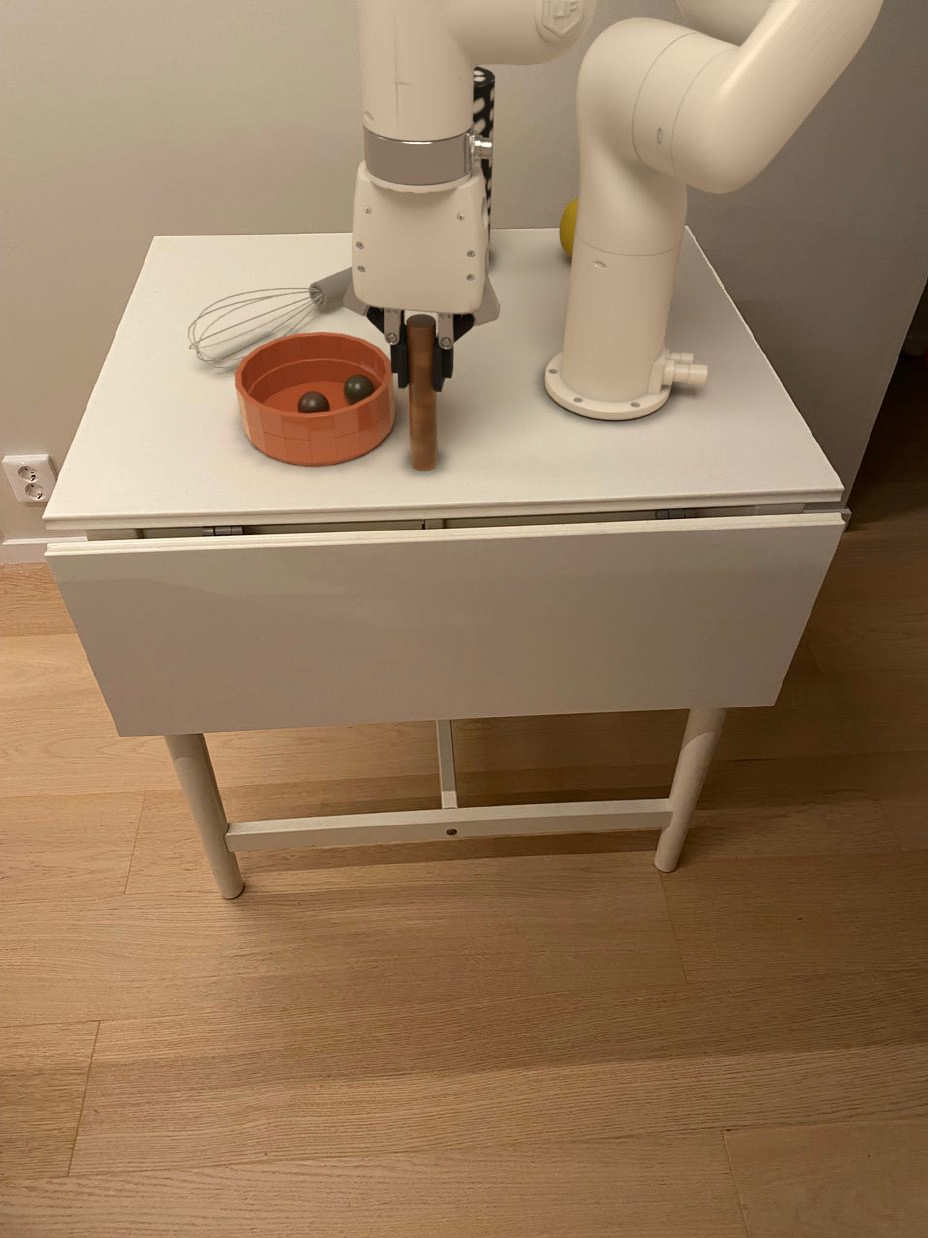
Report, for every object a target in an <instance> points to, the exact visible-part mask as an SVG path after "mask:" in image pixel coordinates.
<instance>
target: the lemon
mask: <svg viewBox="0 0 928 1238" xmlns="http://www.w3.org/2000/svg"><path fill="white" fill-rule="evenodd" d="M577 205H578V197H576V198H574V199H573V200H571V201H570V202H569V203H568V204H567V205H566V207H565V209H564V210H563V212H562V215H561V218H560V221H559V230H558V231H559V242H560V245H561V247H562V249H563V251H564V252H565V254H567V255H568V256H569V257H571V258H572V253H573V243H574V233H575V226H576V216H577Z"/></svg>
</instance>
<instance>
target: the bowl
mask: <svg viewBox="0 0 928 1238" xmlns="http://www.w3.org/2000/svg"><path fill="white" fill-rule="evenodd" d="M245 356H246V357H245V358H242V359H241V361H240V363H239V364H238V365H239V366H237V368H236V370H235V371H234V387H235V391H236V393H235V394H236V397H237V403H238V408H239V412H240V418H241V422H242V428H243V432H244V433H245V435H246V437H247V438H248V439H249V441H250V442H251V444H252V445H253V446H255V447H256V448H257V449H258V450H259V451H260V452H262V453H263V454H265V455H266V456H267V457H270V458H272V459H274V460H277V461H280V462H283V463H287V464H290V465H291V464H292V465H297V466H306V467H307V466H309V467H310V466H311V467H314V466H315V467H316V466H319V467H320V466H329V465H330V466H331V465H336V464H339V463H340V464H341V463H345V462H348V461H352V460H355V459H357V458H360V457H362V456H363V455H365V454H367V453H369V452H371V451H372V450H374V449H375V448H376V447H377V446H379V445H380V444H381V443H382V442H383V441H384V440H385V439H386V437H387V435H388V434H389V433H390V432H391V430H392V427H393V425H394V421H395V418H396V409H395V407H396V406H395V389H394V387H395V385H394V373H391V358H390V357H388V355H387V354H386V353H385V352H384V351H383V350H382V348H380V347H379V346H377V345H375V344H373V343H372V342H370V341H367V340H366V339H364V338H361V337H357V336H353V335H349V334H346V333H339V332H330V331H329V332H327V331H314V332H303V333H301V332H300V333H295V334H290V335H286V336H285V337H282V338H280V337H278V338H275V339H272V340H270V341H268V342H266V343H264V344H262V345H259V346H258V347H256V348H255V349H253V350H251V352H249V353H248V354H246V355H245ZM353 375H364V376H366V377H368V378H369V379H370V380H371V381H372V383H373V385H374V388H375V392H374V393H373V394H372V395H371V396H369V397H367V398H365V399H364V400H362V401H360V402H358V403H356V404H354V405H351V404H350V403H349V402H348V401H347V400H346V399H345V397H344V393H343V388H344V384H345V382H346V381H347V379H348V378H350V377H351V376H353ZM310 391H316V392H319V393H321V394H323V395H324V396H325V397H326V398H327V400H328V402H329V405H330V411H329V412H318V413H298V409H297V405H298V401H299V399H300V397H301V396H302V395H303V394H305V393H307V392H310Z"/></svg>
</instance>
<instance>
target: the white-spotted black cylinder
mask: <svg viewBox="0 0 928 1238" xmlns="http://www.w3.org/2000/svg"><path fill="white" fill-rule="evenodd" d="M495 90H496V75H495V73H494V72H493V71H491V70H489V69H487V68H485V67H482V66H479V65H478V66H477V67H475V68H474V89H473V121H474V130H477V135H482V136H483V138H493V139H494V126H495V125H494V122H495V121H494V120H495V93H496V91H495ZM493 154H494V152H493V153H492V156H493ZM475 164H476V165H478V166H479V167H481V169H482V171H483V177H484V183H485V190H486V199H487V212H488V240H489V247H490V245H491V244H490V242H491V241H490V240H491V215H492V212H491V211H492V183H493V182H492V181H493V158H492V159H481V161H477V160H476V162H475Z"/></svg>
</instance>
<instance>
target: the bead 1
mask: <svg viewBox="0 0 928 1238" xmlns="http://www.w3.org/2000/svg"><path fill="white" fill-rule="evenodd" d="M297 409H298V413H318V412H329V411H330V405H329V402H328V400H327V398H326V397H325V396H324V395H323V394H321V393H319V392H316V391H310V392H307V393H305V394H303V395H302V396H301V397H300V399H299V401H298V405H297Z"/></svg>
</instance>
